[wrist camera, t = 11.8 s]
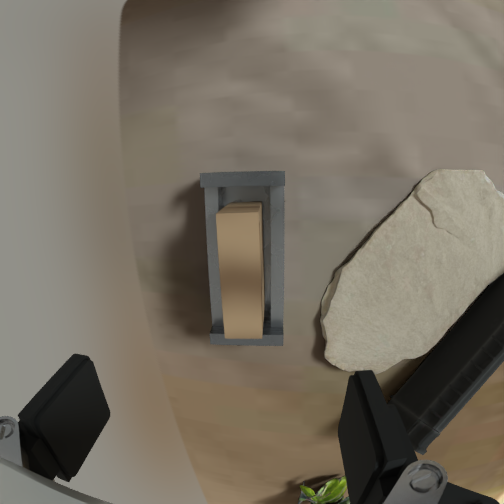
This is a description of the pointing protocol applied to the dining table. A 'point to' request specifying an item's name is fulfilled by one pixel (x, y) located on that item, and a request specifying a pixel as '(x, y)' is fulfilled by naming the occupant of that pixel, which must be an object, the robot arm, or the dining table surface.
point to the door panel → (241, 269)
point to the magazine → (454, 369)
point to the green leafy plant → (326, 493)
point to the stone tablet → (415, 273)
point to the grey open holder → (272, 196)
